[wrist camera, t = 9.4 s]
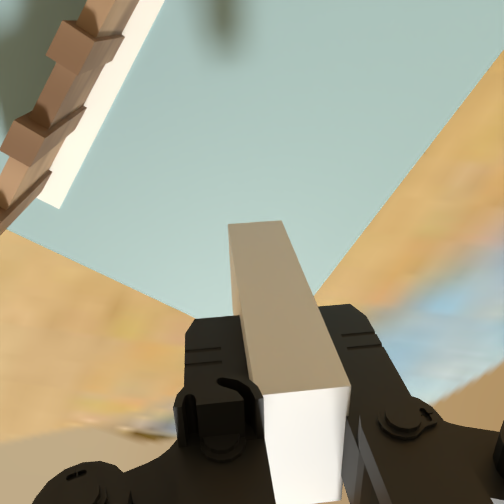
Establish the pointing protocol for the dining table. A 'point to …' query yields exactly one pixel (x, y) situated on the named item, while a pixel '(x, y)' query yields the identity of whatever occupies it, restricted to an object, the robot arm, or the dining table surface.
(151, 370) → the dining table surface
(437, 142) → the dining table surface
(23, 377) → the dining table surface
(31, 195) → the fence panel
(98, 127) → the board
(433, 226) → the dining table surface
